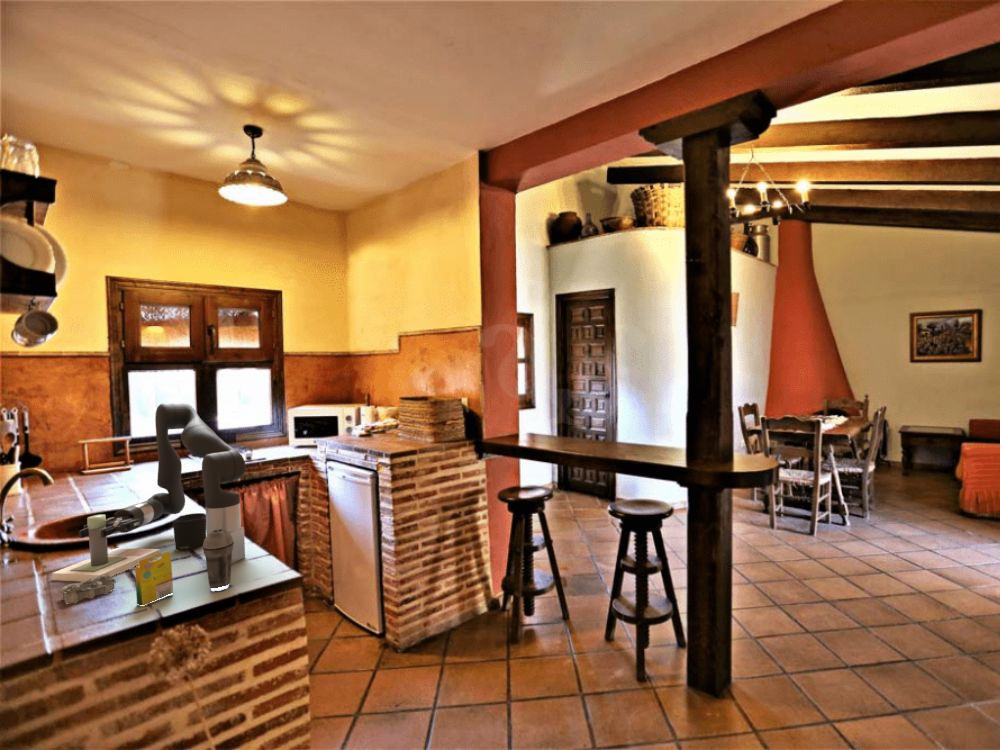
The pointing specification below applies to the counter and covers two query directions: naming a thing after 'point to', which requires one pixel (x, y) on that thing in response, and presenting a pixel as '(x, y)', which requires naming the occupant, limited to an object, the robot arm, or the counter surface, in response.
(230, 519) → the robot arm
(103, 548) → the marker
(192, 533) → the pen holder
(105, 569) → the drawing board
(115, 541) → the counter surface
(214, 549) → the beverage cup
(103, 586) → the egg carton
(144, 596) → the crayon box
